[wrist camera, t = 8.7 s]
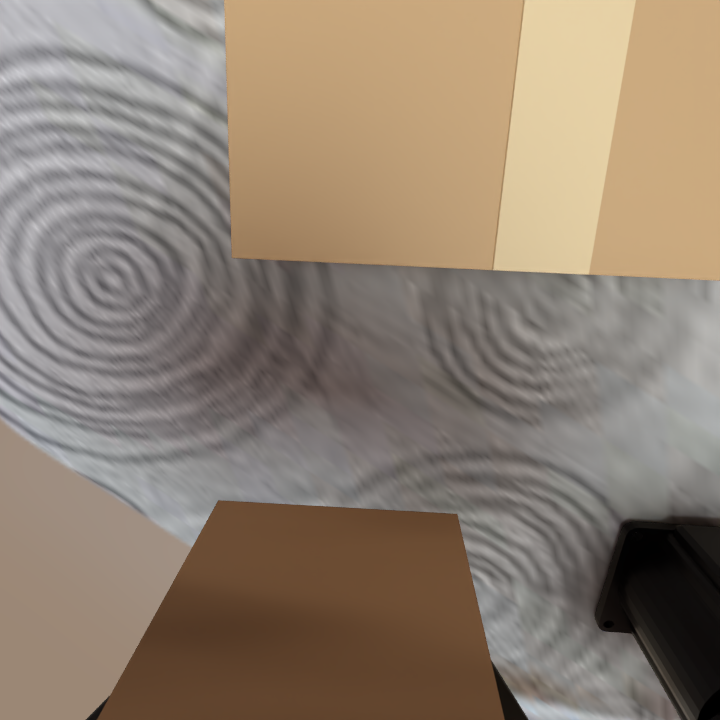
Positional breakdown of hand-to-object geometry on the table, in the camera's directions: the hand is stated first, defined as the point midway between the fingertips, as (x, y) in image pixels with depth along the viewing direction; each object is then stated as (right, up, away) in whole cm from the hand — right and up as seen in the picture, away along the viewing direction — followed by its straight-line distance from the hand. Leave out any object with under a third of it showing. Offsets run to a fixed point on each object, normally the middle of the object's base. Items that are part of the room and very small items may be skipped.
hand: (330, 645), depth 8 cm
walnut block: (0, 0, +1) cm, 1 cm away
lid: (+5, +12, +3) cm, 14 cm away
